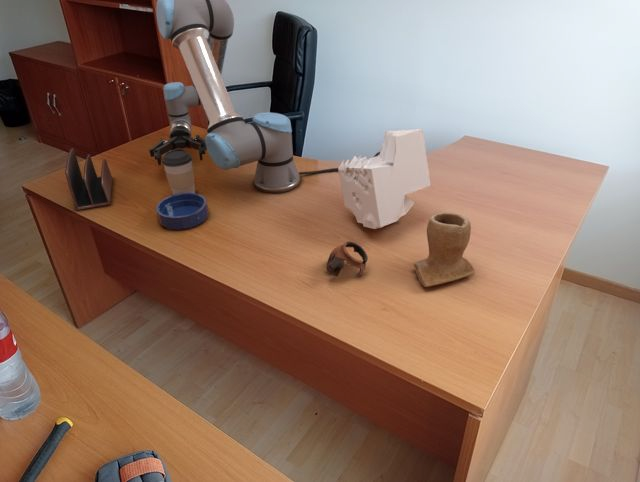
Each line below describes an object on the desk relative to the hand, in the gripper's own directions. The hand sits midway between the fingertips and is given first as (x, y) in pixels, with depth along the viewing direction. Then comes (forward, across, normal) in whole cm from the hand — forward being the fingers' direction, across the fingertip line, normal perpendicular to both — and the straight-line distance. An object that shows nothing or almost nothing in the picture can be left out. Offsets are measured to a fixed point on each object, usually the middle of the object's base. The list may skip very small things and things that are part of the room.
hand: (179, 159), depth 161 cm
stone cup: (+68, -63, -8) cm, 93 cm away
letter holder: (0, +29, -9) cm, 30 cm away
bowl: (+24, 0, -8) cm, 25 cm away
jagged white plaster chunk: (+39, -57, -9) cm, 69 cm away
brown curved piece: (+61, -40, -9) cm, 73 cm away
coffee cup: (+10, 0, -9) cm, 13 cm away
